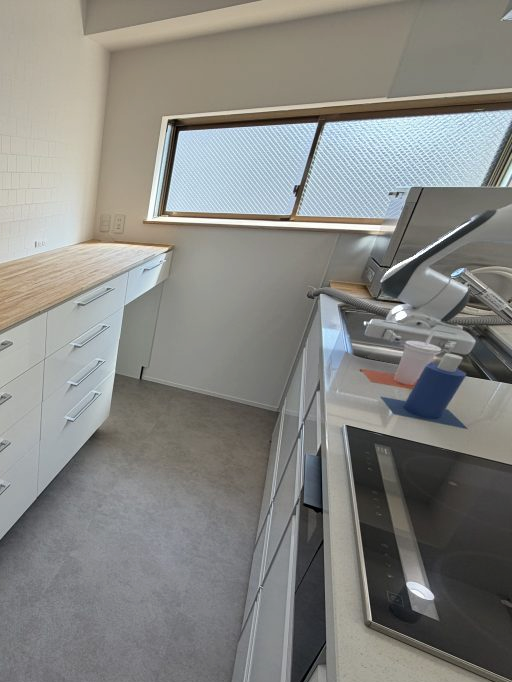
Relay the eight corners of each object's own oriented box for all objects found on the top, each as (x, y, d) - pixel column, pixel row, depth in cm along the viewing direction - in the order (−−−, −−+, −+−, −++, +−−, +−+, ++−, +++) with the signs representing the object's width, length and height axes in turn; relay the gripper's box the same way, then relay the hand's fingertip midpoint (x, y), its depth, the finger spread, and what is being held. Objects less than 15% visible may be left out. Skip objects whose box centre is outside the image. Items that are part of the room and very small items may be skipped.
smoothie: (428, 387, 99) (459, 333, 93) (401, 386, 99) (431, 331, 93) (405, 376, 105) (433, 324, 99) (380, 375, 105) (407, 322, 99)
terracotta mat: (422, 381, 104) (423, 379, 104) (437, 395, 97) (438, 393, 97) (359, 370, 109) (360, 368, 109) (369, 383, 102) (370, 381, 101)
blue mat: (446, 411, 90) (448, 409, 90) (467, 431, 83) (468, 429, 83) (379, 398, 94) (380, 396, 94) (392, 415, 87) (393, 413, 87)
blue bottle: (433, 408, 90) (466, 353, 84) (445, 421, 85) (481, 364, 79) (398, 402, 92) (428, 348, 86) (409, 414, 87) (441, 357, 81)
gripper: (368, 310, 114) (372, 322, 103) (470, 327, 103) (487, 342, 93) (358, 332, 117) (361, 345, 106) (457, 350, 106) (471, 367, 96)
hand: (421, 344), depth 100 cm, fingers open, 8 cm apart
